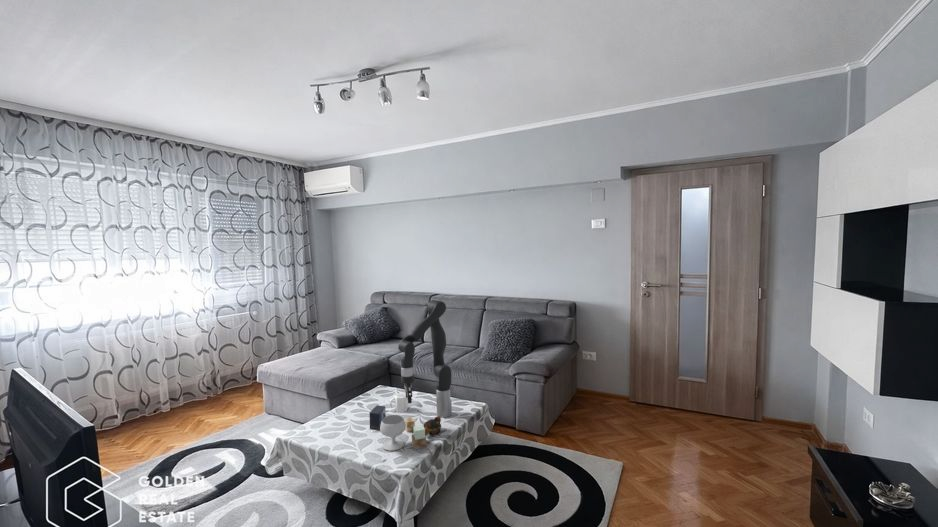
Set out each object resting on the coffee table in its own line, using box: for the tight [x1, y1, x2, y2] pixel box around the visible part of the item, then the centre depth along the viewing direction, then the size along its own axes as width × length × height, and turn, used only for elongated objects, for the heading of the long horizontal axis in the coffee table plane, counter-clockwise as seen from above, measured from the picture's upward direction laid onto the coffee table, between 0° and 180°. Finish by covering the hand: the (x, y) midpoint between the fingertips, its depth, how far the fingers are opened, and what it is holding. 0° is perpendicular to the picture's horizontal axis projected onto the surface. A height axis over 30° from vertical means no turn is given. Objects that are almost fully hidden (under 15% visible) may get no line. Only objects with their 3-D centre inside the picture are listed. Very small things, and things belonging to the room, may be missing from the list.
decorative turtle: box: [422, 415, 442, 436], centre depth 229 cm, size 10×15×8 cm, turn 151°
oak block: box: [404, 417, 416, 433], centre depth 233 cm, size 5×5×6 cm
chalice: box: [379, 414, 406, 452], centre depth 215 cm, size 14×14×15 cm
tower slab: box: [411, 433, 428, 450], centre depth 216 cm, size 7×7×5 cm
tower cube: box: [412, 424, 425, 440], centre depth 215 cm, size 6×6×5 cm
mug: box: [389, 392, 409, 413], centre depth 260 cm, size 12×9×10 cm
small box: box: [369, 405, 387, 430], centre depth 239 cm, size 11×6×10 cm, turn 168°
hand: (408, 400), depth 232 cm, fingers open, 8 cm apart
